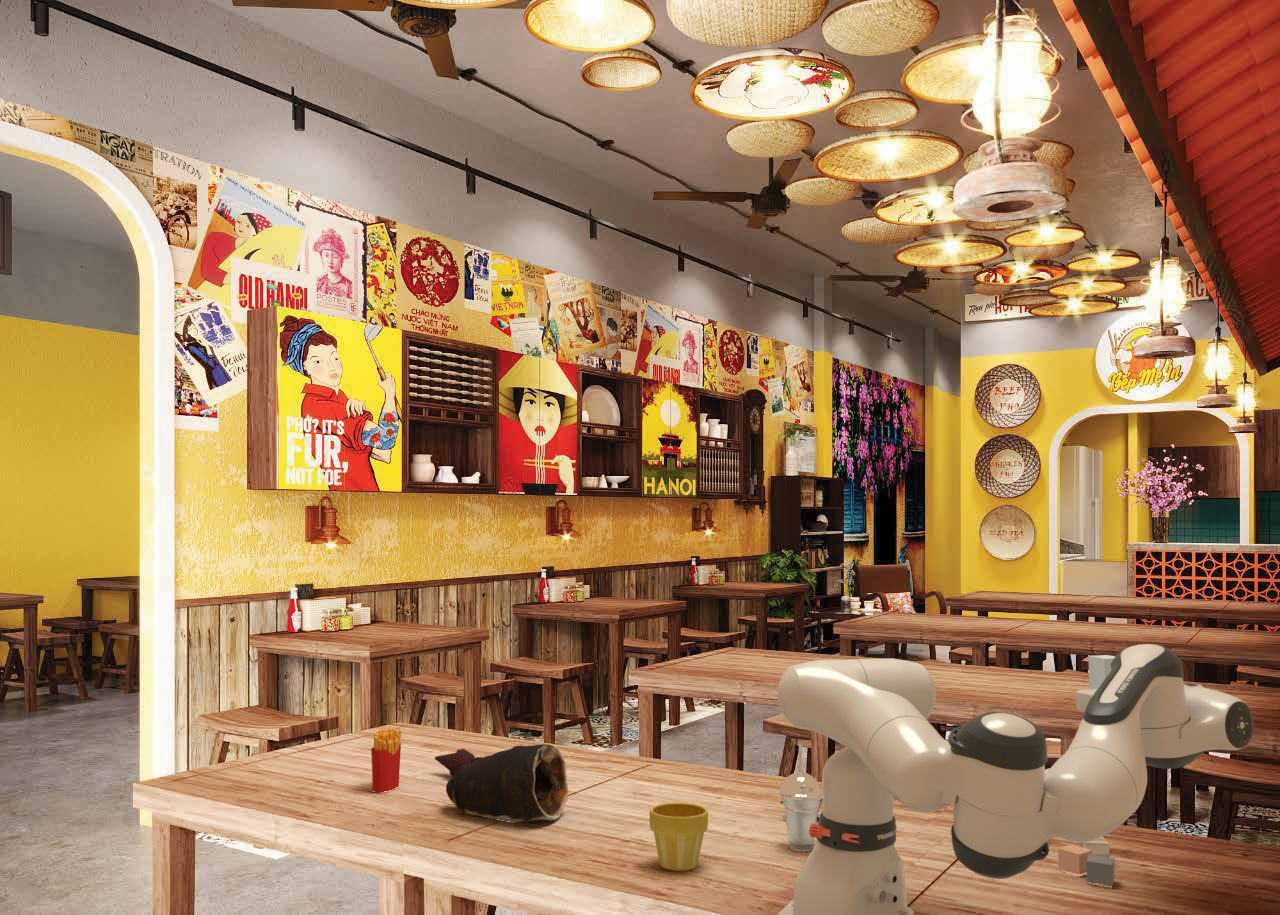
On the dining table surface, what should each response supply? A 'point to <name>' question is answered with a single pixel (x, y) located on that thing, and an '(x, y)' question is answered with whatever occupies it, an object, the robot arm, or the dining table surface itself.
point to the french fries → (386, 760)
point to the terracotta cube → (1073, 858)
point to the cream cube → (1097, 847)
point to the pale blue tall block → (1099, 669)
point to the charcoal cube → (1100, 870)
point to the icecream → (456, 760)
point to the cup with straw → (800, 806)
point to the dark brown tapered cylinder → (513, 785)
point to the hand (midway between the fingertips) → (1103, 693)
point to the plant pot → (678, 833)
